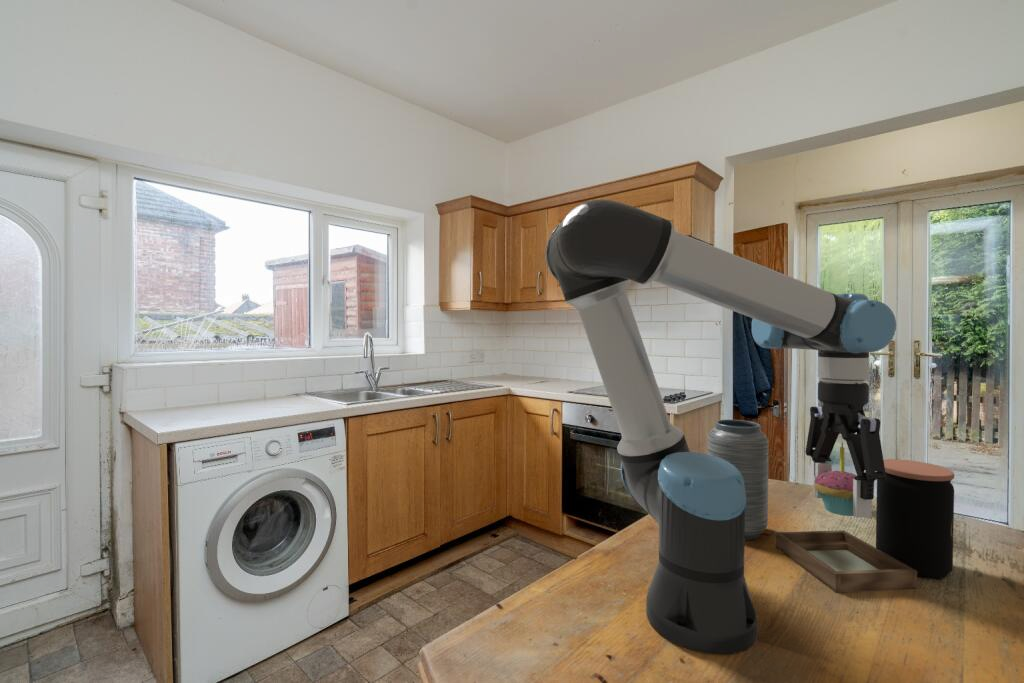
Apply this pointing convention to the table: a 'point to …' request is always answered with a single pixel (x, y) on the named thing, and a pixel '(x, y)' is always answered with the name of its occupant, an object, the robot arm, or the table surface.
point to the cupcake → (836, 489)
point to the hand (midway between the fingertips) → (841, 506)
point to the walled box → (845, 561)
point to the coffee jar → (916, 516)
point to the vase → (745, 466)
